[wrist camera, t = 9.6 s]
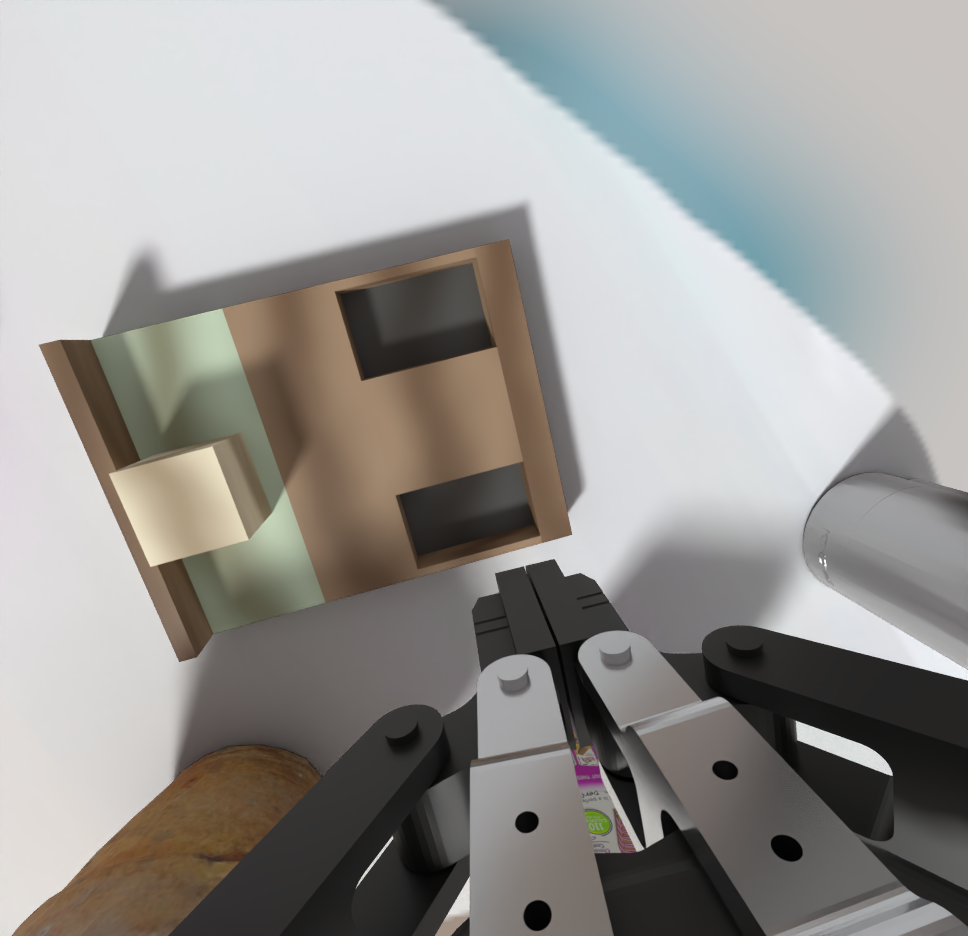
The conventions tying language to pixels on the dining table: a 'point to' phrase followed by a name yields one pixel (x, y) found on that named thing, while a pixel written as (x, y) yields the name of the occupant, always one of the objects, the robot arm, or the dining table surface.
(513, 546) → the board
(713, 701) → the robot arm
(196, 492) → the block
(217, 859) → the potted plant
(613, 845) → the candy bar box
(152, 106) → the dining table surface
